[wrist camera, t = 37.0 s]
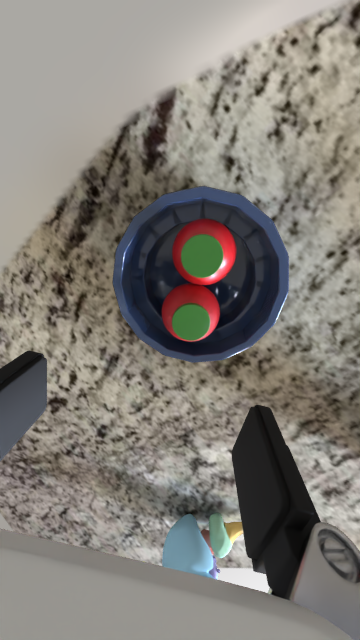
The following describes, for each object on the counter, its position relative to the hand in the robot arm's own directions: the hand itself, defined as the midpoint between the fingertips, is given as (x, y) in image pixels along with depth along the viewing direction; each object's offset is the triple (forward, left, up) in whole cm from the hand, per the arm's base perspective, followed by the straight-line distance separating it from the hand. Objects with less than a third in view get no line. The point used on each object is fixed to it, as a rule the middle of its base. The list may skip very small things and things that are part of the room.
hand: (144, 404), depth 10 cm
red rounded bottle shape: (+1, +2, -10) cm, 10 cm away
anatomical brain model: (+11, -28, -11) cm, 32 cm away
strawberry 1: (+1, +6, -10) cm, 12 cm away
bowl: (+1, +4, -11) cm, 12 cm away
